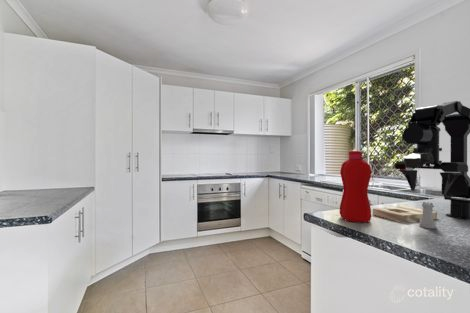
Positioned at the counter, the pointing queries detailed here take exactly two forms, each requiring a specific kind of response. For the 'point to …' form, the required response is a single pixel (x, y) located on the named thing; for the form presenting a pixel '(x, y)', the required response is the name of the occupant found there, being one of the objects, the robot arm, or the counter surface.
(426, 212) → the rook chess piece
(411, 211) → the socket block
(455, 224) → the counter surface
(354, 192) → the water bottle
